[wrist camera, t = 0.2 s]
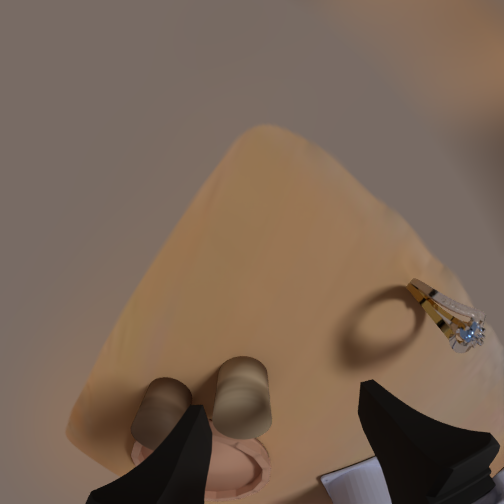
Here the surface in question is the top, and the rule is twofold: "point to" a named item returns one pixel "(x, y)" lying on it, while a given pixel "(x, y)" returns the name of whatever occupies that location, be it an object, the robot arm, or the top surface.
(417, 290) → the ring
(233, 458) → the dish
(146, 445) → the brown short cylinder
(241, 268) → the top surface
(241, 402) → the beige tall rounded piece
